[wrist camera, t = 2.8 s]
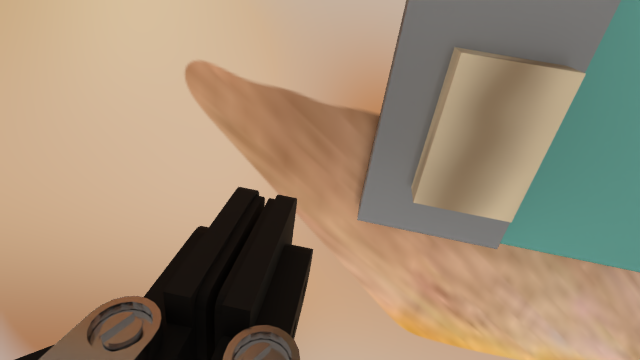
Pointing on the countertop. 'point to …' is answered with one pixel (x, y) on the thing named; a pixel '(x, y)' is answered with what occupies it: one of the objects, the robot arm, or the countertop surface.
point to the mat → (593, 162)
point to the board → (427, 80)
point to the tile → (491, 132)
